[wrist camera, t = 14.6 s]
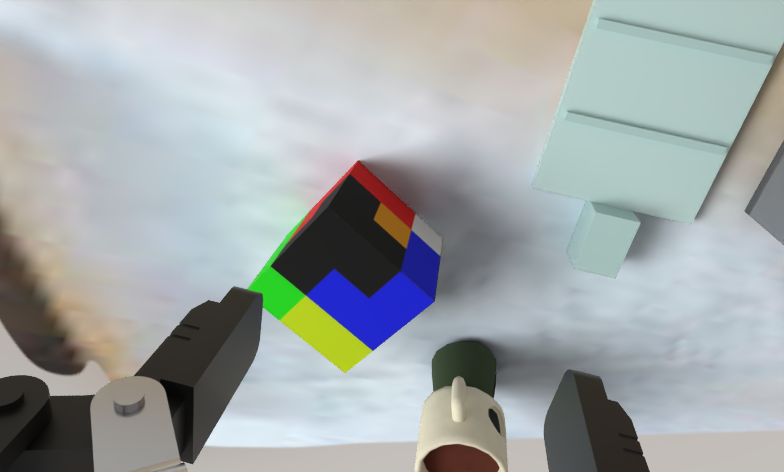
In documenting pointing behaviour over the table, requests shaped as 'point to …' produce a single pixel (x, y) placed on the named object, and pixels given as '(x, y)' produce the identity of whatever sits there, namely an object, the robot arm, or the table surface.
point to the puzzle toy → (352, 270)
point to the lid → (653, 113)
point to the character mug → (462, 414)
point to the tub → (770, 198)
